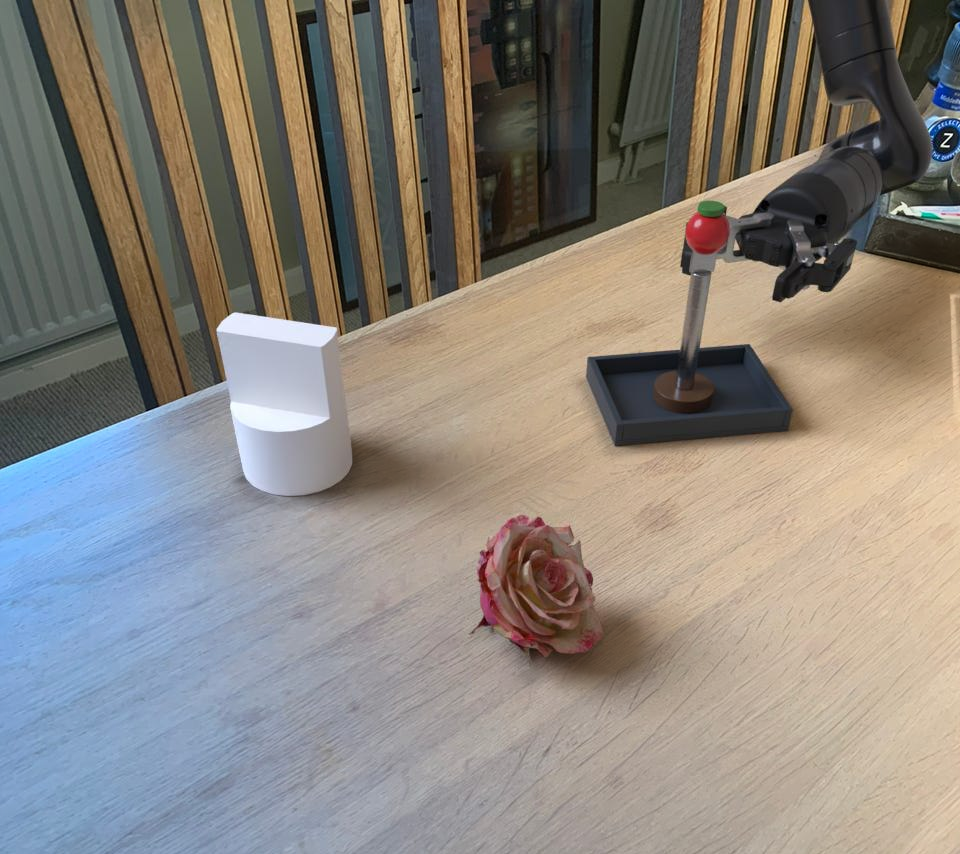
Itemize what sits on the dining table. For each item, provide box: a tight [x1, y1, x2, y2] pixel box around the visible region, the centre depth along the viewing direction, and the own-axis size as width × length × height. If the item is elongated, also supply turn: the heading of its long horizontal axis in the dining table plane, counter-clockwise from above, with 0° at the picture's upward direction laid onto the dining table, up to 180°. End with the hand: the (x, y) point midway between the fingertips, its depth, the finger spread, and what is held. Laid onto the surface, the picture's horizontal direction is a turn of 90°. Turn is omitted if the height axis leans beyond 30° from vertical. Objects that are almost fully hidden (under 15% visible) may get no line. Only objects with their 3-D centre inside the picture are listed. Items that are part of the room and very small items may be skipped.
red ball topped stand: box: [653, 200, 730, 413], centre depth 85 cm, size 5×5×17 cm
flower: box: [468, 514, 604, 668], centre depth 68 cm, size 10×9×8 cm
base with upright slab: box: [216, 311, 353, 497], centre depth 81 cm, size 9×9×12 cm
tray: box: [585, 343, 794, 447], centre depth 90 cm, size 15×11×2 cm
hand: (731, 277), depth 87 cm, fingers open, 8 cm apart
